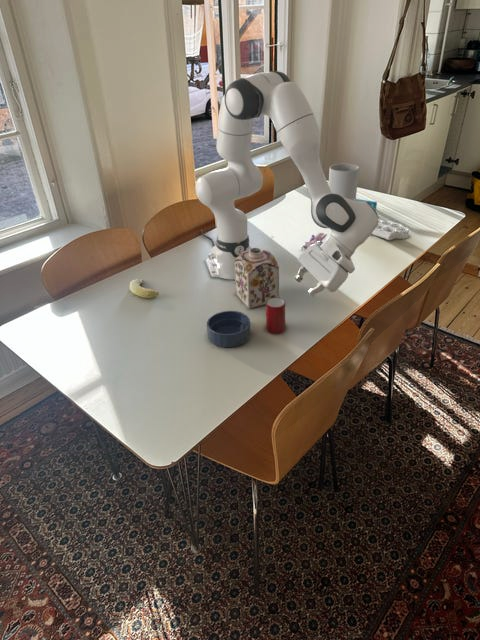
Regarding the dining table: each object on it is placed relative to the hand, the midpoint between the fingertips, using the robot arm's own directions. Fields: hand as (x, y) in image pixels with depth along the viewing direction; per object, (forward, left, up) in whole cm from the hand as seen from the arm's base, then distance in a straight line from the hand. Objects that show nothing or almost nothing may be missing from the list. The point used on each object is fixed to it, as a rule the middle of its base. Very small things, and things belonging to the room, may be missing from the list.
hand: (303, 287), depth 138 cm
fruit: (-43, -40, -13) cm, 60 cm away
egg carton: (-43, +68, -13) cm, 82 cm away
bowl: (-4, -23, -13) cm, 27 cm away
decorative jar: (-20, -6, -13) cm, 25 cm away
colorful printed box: (-68, +74, -13) cm, 102 cm away
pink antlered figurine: (-47, +34, -13) cm, 60 cm away
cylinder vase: (-64, +58, -13) cm, 88 cm away
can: (-1, -9, -13) cm, 16 cm away
